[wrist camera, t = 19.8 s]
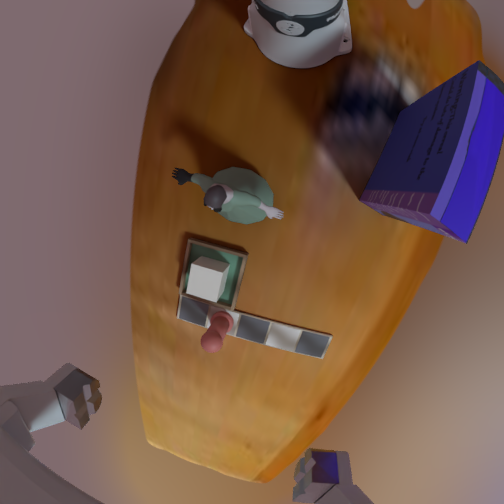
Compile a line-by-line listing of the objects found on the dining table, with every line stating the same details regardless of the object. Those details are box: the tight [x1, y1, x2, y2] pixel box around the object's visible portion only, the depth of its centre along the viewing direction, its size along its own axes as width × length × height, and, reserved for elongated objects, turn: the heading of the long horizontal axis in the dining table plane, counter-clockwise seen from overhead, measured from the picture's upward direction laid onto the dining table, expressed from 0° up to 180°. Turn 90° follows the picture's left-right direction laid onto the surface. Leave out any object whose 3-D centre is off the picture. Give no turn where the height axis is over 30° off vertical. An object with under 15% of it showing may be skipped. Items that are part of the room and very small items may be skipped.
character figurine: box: [172, 167, 283, 224], centre depth 34 cm, size 16×8×18 cm, turn 67°
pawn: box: [201, 311, 234, 353], centre depth 43 cm, size 4×4×9 cm
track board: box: [177, 295, 333, 359], centre depth 48 cm, size 5×28×1 cm, turn 76°
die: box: [186, 256, 230, 302], centre depth 44 cm, size 5×5×5 cm
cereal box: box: [359, 61, 504, 244], centre depth 27 cm, size 17×5×24 cm, turn 153°
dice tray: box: [179, 238, 249, 311], centre depth 46 cm, size 10×10×2 cm
